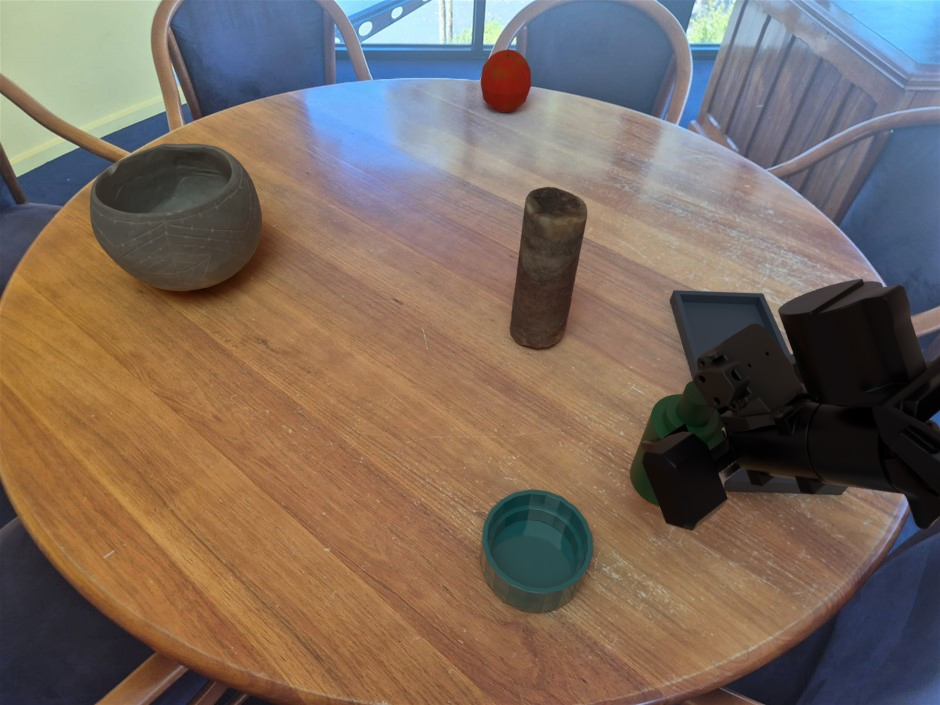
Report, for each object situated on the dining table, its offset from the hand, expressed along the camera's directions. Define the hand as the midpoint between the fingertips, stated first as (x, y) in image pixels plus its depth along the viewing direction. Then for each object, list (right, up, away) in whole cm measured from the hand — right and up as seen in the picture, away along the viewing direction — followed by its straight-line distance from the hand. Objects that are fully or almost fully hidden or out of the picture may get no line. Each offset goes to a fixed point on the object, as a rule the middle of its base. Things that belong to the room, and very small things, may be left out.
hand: (669, 429), depth 56 cm
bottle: (+1, -5, +4) cm, 7 cm away
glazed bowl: (-12, -14, +5) cm, 19 cm away
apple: (-11, +57, +71) cm, 92 cm away
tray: (+16, +3, +22) cm, 27 cm away
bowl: (-57, +19, +34) cm, 69 cm away
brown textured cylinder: (-9, +10, +27) cm, 30 cm away
